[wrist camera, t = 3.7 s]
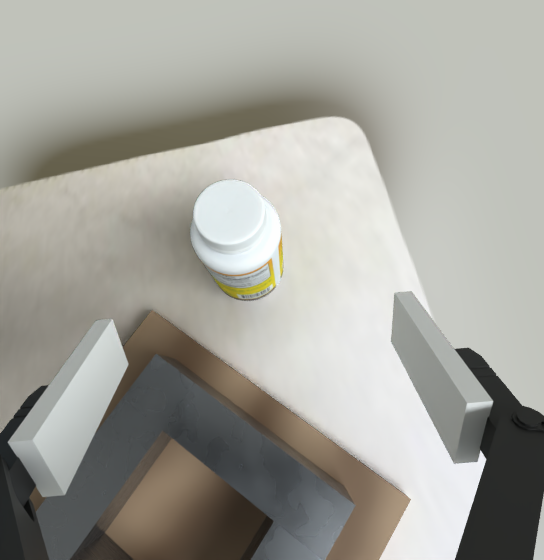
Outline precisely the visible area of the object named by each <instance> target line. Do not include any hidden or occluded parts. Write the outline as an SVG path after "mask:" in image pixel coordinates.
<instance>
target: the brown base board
mask: <svg viewBox="0 0 544 560" xmlns="http://www.w3.org/2000/svg"><path fill="white" fill-rule="evenodd" d="M123 350H124V353H125V356H126V359H127V361H128V364H129V365H128V367H127V369H126V371H125V373H124V375H123V377H122V379H121V381H120V383H119V385H118V387H117V389H116V391H115V393H114V395H113V397H112V399H111V401H110V403H109V406H108V408H107V410H106V412H105V414H104V416H103V418H102V420H101V422H100V424H99V426H98V428H97V430H96V432H97V431H98V429H99V428H100V427H101V425H102V424H103V423H104V421H105V420H106V419H107V417H108V416H109V415H110V413H111V412H112V411H113V410H114V408H115V407H116V406H117V404H118V403H119V402H120V400H121V399H122V398H123V396H124V395H125V394H126V392H127V391H128V390H129V389H130V387H131V386H132V385H133V383H134V382H135V381H136V379H137V378H138V377H139V375H140V374H141V373H142V371H143V370H144V369H145V368H146V366H147V365H148V364H149V362H150V361H151V360H152V358H153V357H154V356H155V354H159V355H163V356H166V357H170V358H174V359H176V360H177V361H179V362H180V363H181V364H183V365H184V366H185V367H187V368H188V369H189V370H191V371H192V372H193V373H195V374H196V375H197V376H199V377H200V378H201V379H203V380H204V381H205V382H207V383H208V384H209V385H211V386H212V387H213V388H215V389H216V390H217V391H219V392H220V393H221V394H223V395H224V396H225V397H227V398H228V399H229V400H230V401H232V402H233V403H234V404H236V405H237V406H238V407H240V408H241V409H242V410H244V411H245V412H246V413H248V414H249V415H250V416H252V417H253V418H254V419H256V420H257V421H258V422H260V423H261V424H262V425H264V426H265V427H266V428H268V429H269V430H270V431H272V432H273V433H274V434H276V435H277V436H278V437H280V438H281V439H282V440H284V441H285V442H286V443H288V444H289V445H290V446H291V447H293V448H294V449H295V450H297V451H298V452H299V453H301V454H302V455H303V456H305V457H306V458H307V459H309V460H310V461H311V462H313V463H314V464H315V465H317V466H318V467H319V468H321V469H322V470H323V471H325V472H326V473H327V474H329V475H330V476H331V477H333V478H334V479H335V480H337V481H338V482H339V483H341V484H342V485H343V486H345V488H346V490H347V491H348V493H349V495H350V497H351V498H352V500H353V502H354V504H355V505H356V506H355V507H354V509H353V511H352V513H351V515H350V516H349V518H348V520H347V522H346V523H345V525H344V527H343V529H342V531H341V532H340V534H339V536H338V538H337V539H336V541H335V543H334V545H333V547H332V548H331V550H330V552H329V554H328V556H327V557H326V559H325V560H379V559H380V557H381V555H382V553H383V551H384V549H385V547H386V545H387V544H388V542H389V540H390V538H391V536H392V534H393V532H394V530H395V528H396V527H397V525H398V523H399V521H400V519H401V517H402V515H403V513H404V511H405V509H406V508H407V506H408V504H409V502H410V500H411V499H410V498H408V497H407V496H406V495H405V494H404V493H402V492H401V491H399V490H398V489H397V488H395V487H394V486H393V485H391V484H390V483H389V482H387V481H386V480H384V479H383V478H382V477H380V476H379V475H378V474H376V473H375V472H373V471H372V470H371V469H369V468H368V467H367V466H365V465H364V464H363V463H361V462H360V461H358V460H357V459H356V458H354V457H353V456H352V455H350V454H349V453H347V452H346V451H345V450H343V449H342V448H341V447H339V446H338V445H337V444H335V443H334V442H332V441H331V440H330V439H328V438H327V437H326V436H324V435H323V434H321V433H320V432H319V431H317V430H316V429H315V428H313V427H312V426H311V425H309V424H308V423H306V422H305V421H304V420H302V419H301V418H300V417H298V416H297V415H295V414H294V413H293V412H291V411H290V410H289V409H287V408H286V407H285V406H283V405H282V404H280V403H279V402H278V401H276V400H275V399H274V398H272V397H271V396H269V395H268V394H267V393H265V392H264V391H263V390H261V389H260V388H259V387H257V386H256V385H254V384H253V383H252V382H250V381H249V380H248V379H246V378H245V377H243V376H242V375H241V374H239V373H238V372H237V371H235V370H234V369H233V368H231V367H230V366H228V365H227V364H226V363H224V362H223V361H222V360H220V359H219V358H217V357H216V356H215V355H213V354H212V353H211V352H209V351H208V350H207V349H205V348H204V347H202V346H201V345H200V344H198V343H197V342H196V341H194V340H193V339H191V338H190V337H189V336H187V335H186V334H185V333H183V332H182V331H181V330H179V329H178V328H176V327H175V326H174V325H172V324H171V323H170V322H168V321H167V320H165V319H164V318H163V317H161V316H160V315H159V314H157V313H156V312H154V311H151V312H150V313H149V314H148V316H147V317H146V318H145V320H144V321H143V322H142V323H141V325H140V326H139V327H138V328H137V330H136V331H135V332H134V333H133V335H132V336H131V337H130V339H129V340H128V341H127V342H126V344H125V345H124V346H123ZM96 432H95V433H96ZM94 435H95V434H94ZM29 498H30V500H31V501H32V503H33V505H34V508H35V512H36V511H37V509H38V508H39V507H40V505H41V504H42V503H43V501H44V500H45V499H46V498H47V497H42V495H41V494H40V492H39V491H38V489H37V488H36V487H35V488H34V490H33V492H32V494H31V495H30V497H29ZM266 516H267V515H266V514H265V513H263V512H262V511H261V510H260V509H259V508H257V507H256V506H255V505H254V504H252V503H251V502H250V501H249V500H247V499H246V498H245V497H244V496H243V495H241V494H240V493H239V492H238V491H236V490H235V489H234V488H233V487H231V486H230V485H229V484H228V483H227V482H225V481H224V480H223V479H222V478H220V477H219V476H218V475H217V474H215V473H214V472H213V471H212V470H211V469H209V468H208V467H207V466H206V465H204V464H203V463H202V462H201V461H200V460H198V459H197V458H196V457H195V456H193V455H192V454H191V453H190V452H188V451H187V450H186V449H185V448H184V447H182V446H181V445H180V444H179V443H177V442H176V441H175V440H174V439H171V440H170V442H169V443H168V444H167V446H166V447H165V449H164V450H163V451H162V453H161V454H160V456H159V457H158V458H157V460H156V461H155V463H154V464H153V466H152V467H151V468H150V470H149V471H148V473H147V474H146V475H145V477H144V478H143V480H142V481H141V482H140V484H139V485H138V487H137V488H136V490H135V491H134V492H133V494H132V495H131V497H130V498H129V499H128V501H127V502H126V504H125V505H124V506H123V508H122V509H121V511H120V512H119V514H118V515H117V516H116V518H115V519H114V521H113V522H112V523H111V525H110V526H109V528H108V529H107V530H106V532H105V533H106V534H107V535H108V536H109V537H110V538H111V539H112V540H113V541H114V542H115V543H116V544H118V545H119V546H120V547H121V548H122V549H123V550H124V551H125V552H126V553H127V554H128V555H129V556H131V557H132V558H133V559H134V560H240V559H241V557H242V555H243V554H244V552H245V550H246V549H247V547H248V546H249V544H250V542H251V541H252V539H253V537H254V536H255V534H256V533H257V531H258V529H259V528H260V526H261V524H262V523H263V521H264V520H265V518H266Z"/></svg>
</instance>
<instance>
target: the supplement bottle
mask: <svg viewBox="0 0 544 560" xmlns="http://www.w3.org/2000/svg"><path fill="white" fill-rule="evenodd" d="M190 237H191V243H192V246H193V249H194V251H195V253H196V254H197V256H198V257H199V259H200V260H201V262H202V263H203V264H204V266H205V267H206V268H207V270H208V271H209V273H210V274H211V276H212V277H213V278H214V280H215V281H216V283H217V284H218V285H219V287H220V288H221V289H222V290H223V291H224V292H225V293H226V294H227V295H229V296H230V297H232V298H235V299H237V300H241V301H254V300H258V299H261V298H263V297H265V296H267V295H269V294H270V293H271V292H272V291H273V290H274V289H275V288H276V287H277V285H278V284H279V282H280V280H281V277H282V274H283V252H282V234H281V224H280V219H279V216H278V214H277V211H276V210H275V208H274V206H273V205H272V204H271V203H270V202H269V201H268V200H267V199H266V198H265V197H263V196H262V195H260V193H259V192H258V191H257V190H256V189H255V188H254V187H253V186H252V185H250V184H248V183H246V182H243V181H241V180H234V179H228V180H221V181H218V182H215V183H213V184H211V185H210V186H208V187H207V188H206V189H204V190H203V191H202V192H201V194H200V195H199V196H198V198H197V200H196V202H195V205H194V209H193V219H192V223H191V228H190Z"/></svg>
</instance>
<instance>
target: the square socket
mask: <svg viewBox="0 0 544 560" xmlns="http://www.w3.org/2000/svg"><path fill="white" fill-rule="evenodd" d="M171 439H174V440H175V441H176V442H177V443H179V444H180V445H181V446H182V447H184V448H185V449H186V450H187V451H188V452H190V453H191V454H192V455H193V456H195V457H196V458H197V459H198V460H200V461H201V462H202V463H203V464H204V465H206V466H207V467H208V468H209V469H211V470H212V471H213V472H214V473H215V474H217V475H218V476H219V477H220V478H222V479H223V480H224V481H225V482H227V483H228V484H229V485H230V486H231V487H233V488H234V489H235V490H236V491H238V492H239V493H240V494H241V495H243V496H244V497H245V498H246V499H247V500H249V501H250V502H251V503H252V504H254V505H255V506H256V507H257V508H259V509H260V510H261V511H262V512H263V513H265V514H266V515H267V516H266V518H265V520H264V521H263V523H262V524H261V526H260V528H259V529H258V531H257V533H256V534H255V536H254V537H253V539H252V541H251V542H250V544H249V546H248V547H247V549H246V550H245V552H244V554H243V555H242V557H241V559H240V560H325V559H326V557H327V556H328V554H329V552H330V550H331V548H332V547H333V545H334V543H335V541H336V539H337V538H338V536H339V534H340V532H341V531H342V529H343V527H344V525H345V523H346V522H347V520H348V518H349V516H350V515H351V513H352V511H353V509H354V507H355V506H356V505H355V504H354V502H353V500H352V498H351V497H350V495H349V493H348V491H347V490H346V488H345V486H343V485H342V484H341V483H339V482H338V481H337V480H335V479H334V478H333V477H331V476H330V475H329V474H327V473H326V472H325V471H323V470H322V469H321V468H319V467H318V466H317V465H315V464H314V463H313V462H311V461H310V460H309V459H307V458H306V457H305V456H303V455H302V454H301V453H299V452H298V451H297V450H295V449H294V448H293V447H291V446H290V445H289V444H288V443H286V442H285V441H284V440H282V439H281V438H280V437H278V436H277V435H276V434H274V433H273V432H272V431H270V430H269V429H268V428H266V427H265V426H264V425H262V424H261V423H260V422H258V421H257V420H256V419H254V418H253V417H252V416H250V415H249V414H248V413H246V412H245V411H244V410H242V409H241V408H240V407H238V406H237V405H236V404H234V403H233V402H232V401H230V400H229V399H228V398H227V397H225V396H224V395H223V394H221V393H220V392H219V391H217V390H216V389H215V388H213V387H212V386H211V385H209V384H208V383H207V382H205V381H204V380H203V379H201V378H200V377H199V376H197V375H196V374H195V373H193V372H192V371H191V370H189V369H188V368H187V367H185V366H184V365H183V364H181V363H180V362H179V361H177V360H176V359H174V358H170V357H166V356H163V355H159V354H155V356H154V357H153V358H152V360H151V361H150V362H149V364H148V365H147V366H146V368H145V369H144V370H143V371H142V373H141V374H140V375H139V377H138V378H137V379H136V381H135V382H134V383H133V385H132V386H131V387H130V389H129V390H128V391H127V392H126V394H125V395H124V396H123V398H122V399H121V400H120V402H119V403H118V404H117V406H116V407H115V408H114V410H113V411H112V412H111V413H110V415H109V416H108V417H107V419H106V420H105V421H104V423H103V424H102V425H101V427H100V428H99V429H98V431H97V432H96V433H95V435H94V436H93V438H92V440H91V442H90V444H89V446H88V449H87V451H86V453H85V455H84V457H83V459H82V461H81V463H80V465H79V467H78V469H77V471H76V473H75V475H74V477H73V479H72V481H71V483H70V485H69V487H68V489H67V492H66V494H65V495H62V496H49V497H47V498H46V499H45V500H44V501H43V503H42V504H41V505H40V507H39V508H38V509H37V511H36V515H37V519H38V522H39V526H40V529H41V533H42V536H43V540H44V543H45V547H46V550H47V553H48V557H49V560H134V559H133V558H132V557H131V556H129V555H128V554H127V553H126V552H125V551H124V550H123V549H122V548H121V547H120V546H119V545H118V544H116V543H115V542H114V541H113V540H112V539H111V538H110V537H109V536H108V535H107V534H106V533H105V532H106V530H107V529H108V528H109V526H110V525H111V523H112V522H113V521H114V519H115V518H116V516H117V515H118V514H119V512H120V511H121V509H122V508H123V506H124V505H125V504H126V502H127V501H128V499H129V498H130V497H131V495H132V494H133V492H134V491H135V490H136V488H137V487H138V485H139V484H140V482H141V481H142V480H143V478H144V477H145V475H146V474H147V473H148V471H149V470H150V468H151V467H152V466H153V464H154V463H155V461H156V460H157V458H158V457H159V456H160V454H161V453H162V451H163V450H164V449H165V447H166V446H167V444H168V443H169V442H170V440H171Z"/></svg>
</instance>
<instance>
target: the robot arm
mask: <svg viewBox="0 0 544 560" xmlns="http://www.w3.org/2000/svg"><path fill="white" fill-rule="evenodd" d="M391 342H392V344H393V346H394V348H395V350H396V352H397V354H398V356H399V358H400V360H401V362H402V363H403V365H404V367H405V369H406V371H407V373H408V375H409V377H410V379H411V381H412V383H413V385H414V387H415V389H416V391H417V393H418V394H419V396H420V398H421V400H422V402H423V404H424V406H425V408H426V410H427V412H428V414H429V416H430V418H431V420H432V422H433V424H434V426H435V427H436V429H437V431H438V433H439V435H440V437H441V439H442V441H443V443H444V445H445V447H446V449H447V451H448V453H449V455H450V457H451V459H452V460H453V462H454V464H455V463H468V462H477V461H478V457H479V454H480V450H481V451H482V453H483V454H484V456H485V458H486V459H487V460H486V463H485V466H484V469H483V472H482V475H481V479H480V482H479V485H478V488H477V491H476V495H475V498H474V501H473V504H472V507H471V510H470V514H469V517H468V520H467V523H466V526H465V529H464V533H463V536H462V539H461V542H460V545H459V549H458V552H457V555H456V558H455V560H533V556H534V549H535V543H536V537H537V531H538V525H539V519H540V512H541V506H542V499H543V494H544V416H543V415H542V414H541V413H539V412H538V411H535V410H534V409H532V408H529V407H525V406H522V405H521V404H520V403H519V401H518V400H517V399H516V398H515V396H514V395H513V394H512V393H511V391H510V390H509V389H508V388H507V387H506V385H505V384H504V383H503V382H502V381H501V379H500V378H499V377H498V376H496V373H495V372H494V371H493V370H492V368H490V367H489V365H488V364H487V362H485V360H484V359H483V358H482V356H480V355H479V354H477V353H476V352H474V351H473V350H471V349H469V348H461V349H454V348H453V347H452V345H451V344H450V342H449V341H448V340H447V338H446V337H445V336H444V334H443V333H442V332H441V330H440V329H439V328H438V326H437V325H436V324H435V322H434V321H433V320H432V318H431V317H430V316H429V314H428V313H427V312H426V310H425V309H424V308H423V306H422V305H421V304H420V302H419V301H418V299H417V298H416V297H415V295H414V294H413V293H412V291H409V292H398V293H395V295H394V308H393V321H392V335H391ZM128 365H129V364H128V361H127V359H126V356H125V353H124V350H123V347H122V344H121V342H120V339H119V336H118V333H117V330H116V328H115V325H114V322H113V319H103V320H96V321H95V322H94V324H93V325H92V327H91V328H90V329H89V331H88V332H87V333H86V335H85V336H84V338H83V339H82V340H81V342H80V343H79V344H78V346H77V347H76V349H75V350H74V351H73V353H72V354H71V356H70V357H69V358H68V360H67V361H66V362H65V364H64V365H63V367H62V368H61V369H60V371H59V372H58V373H57V375H56V376H55V378H54V379H53V380H52V382H51V383H50V385H49V386H41V387H40V388H38V389H37V390H36V391H35V392H34V393H32V394H31V395H30V396H29V397H28V398H27V399H26V401H25V402H24V403H23V405H22V406H21V407H20V408H21V409H19V410H18V411H17V412H16V414H15V415H14V418H13V419H11V420H10V422H9V423H8V424H7V426H6V427H5V428H4V430H3V431H2V432H1V433H0V560H49V557H48V553H47V550H46V547H45V543H44V540H43V536H42V533H41V529H40V526H39V522H38V519H37V515H36V512H35V508H34V505H33V503H32V501H31V500H30V498H29V497H30V495H31V494H32V492H33V490H34V488H35V487H36V488H37V489H38V491H39V492H40V494H41V495H42V497H49V496H62V495H65V494H66V492H67V489H68V487H69V485H70V483H71V481H72V479H73V477H74V475H75V473H76V471H77V469H78V467H79V465H80V463H81V461H82V459H83V457H84V455H85V453H86V451H87V449H88V446H89V444H90V442H91V440H92V438H93V436H94V434H95V432H96V430H97V428H98V426H99V424H100V422H101V420H102V418H103V416H104V414H105V412H106V410H107V408H108V406H109V403H110V401H111V399H112V397H113V395H114V393H115V391H116V389H117V387H118V385H119V383H120V381H121V379H122V377H123V375H124V373H125V371H126V369H127V367H128Z"/></svg>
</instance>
